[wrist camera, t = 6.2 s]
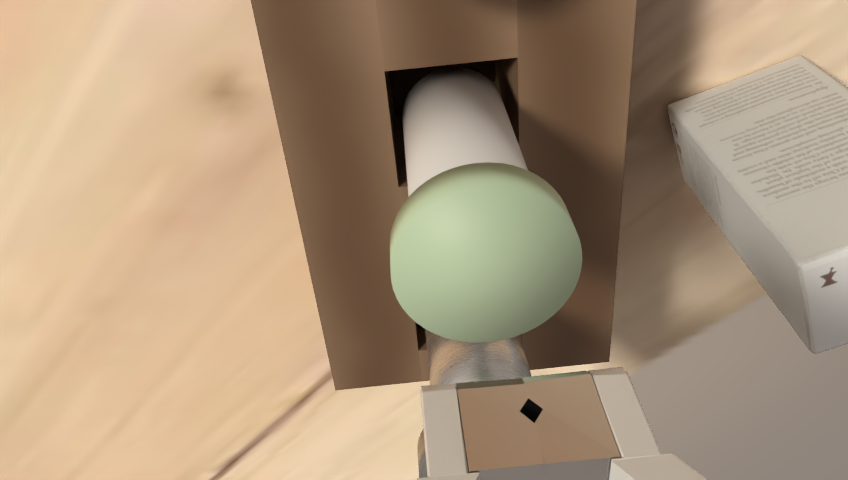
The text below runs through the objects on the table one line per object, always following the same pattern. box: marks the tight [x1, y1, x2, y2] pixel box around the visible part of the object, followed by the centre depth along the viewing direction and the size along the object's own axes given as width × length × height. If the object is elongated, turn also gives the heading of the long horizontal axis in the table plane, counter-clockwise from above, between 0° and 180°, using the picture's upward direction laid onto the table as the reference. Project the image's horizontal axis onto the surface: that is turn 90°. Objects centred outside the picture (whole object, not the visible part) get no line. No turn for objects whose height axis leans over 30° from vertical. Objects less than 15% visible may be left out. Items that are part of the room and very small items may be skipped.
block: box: [251, 0, 637, 390], centre depth 28 cm, size 12×24×6 cm, turn 5°
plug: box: [418, 329, 531, 478], centre depth 27 cm, size 5×5×9 cm
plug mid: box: [390, 67, 582, 343], centre depth 22 cm, size 5×5×9 cm
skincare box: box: [667, 55, 848, 354], centre depth 28 cm, size 6×4×12 cm
